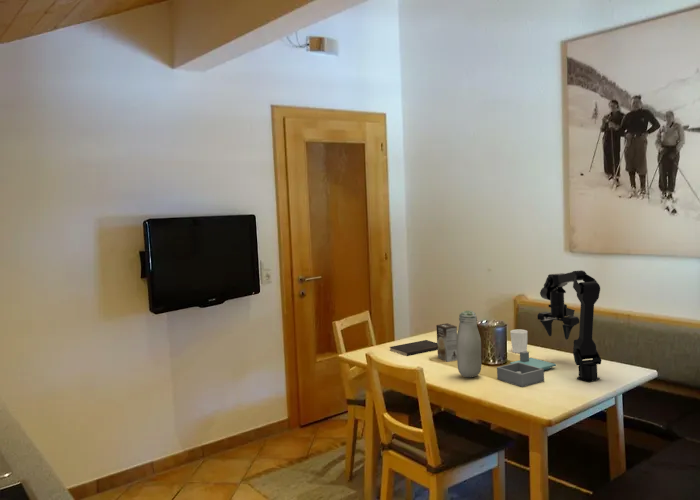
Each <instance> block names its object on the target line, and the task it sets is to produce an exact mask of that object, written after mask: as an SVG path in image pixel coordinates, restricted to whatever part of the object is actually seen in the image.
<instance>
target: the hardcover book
mask: <svg viewBox="0 0 700 500" xmlns="http://www.w3.org/2000/svg"><path fill="white" fill-rule="evenodd" d="M389 350H390V351H391V352H395V353H398V354H400V355H404V356H406V357H409V356H415V355H420V354H424V353H429V352H435V351H438V349H437V342H435V341H431V340H427V339H425V340H419V341H414V342H409V343H403V344H399V345H398V344H397V345H391V346H389Z"/></svg>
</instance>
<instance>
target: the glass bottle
mask: <svg viewBox="0 0 700 500" xmlns="http://www.w3.org/2000/svg"><path fill="white" fill-rule="evenodd" d="M458 321H459V325H458V328H457V338H456V348H457V360H456V363H457V364H456V365H457V369H458V372H459V374H460V375H461V376H462V377H465V378H474V377H475V378H476V377H478V375H479V374H481V370H482V341H481V340H482V339H481V335H480V332H479V328H478V323H477V322H478V318H477V314H476V312H475V311H474V310H464V311H462V312H460V313H459V317H458Z"/></svg>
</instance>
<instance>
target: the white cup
mask: <svg viewBox="0 0 700 500" xmlns="http://www.w3.org/2000/svg"><path fill="white" fill-rule="evenodd" d="M509 332H510V340H511V350H512V353H514V354H520V352H523V351H526V352H528V330H526V329H512V330H510V331H509Z"/></svg>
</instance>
